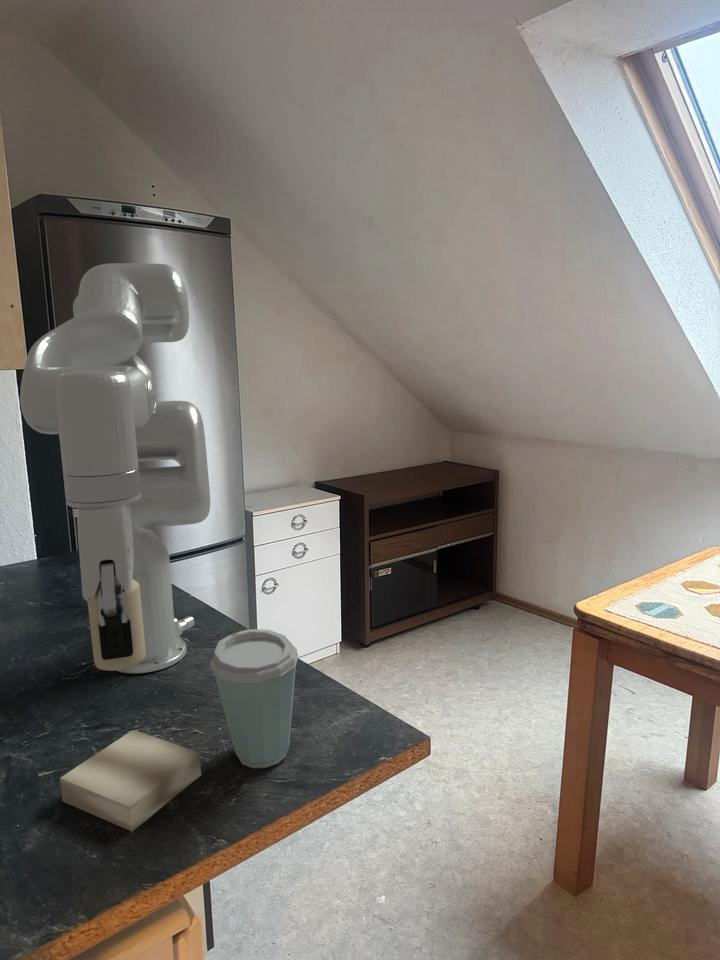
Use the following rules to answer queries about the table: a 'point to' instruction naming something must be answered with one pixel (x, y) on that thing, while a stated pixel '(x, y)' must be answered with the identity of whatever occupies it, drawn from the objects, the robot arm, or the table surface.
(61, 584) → the table surface
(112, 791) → the plinth
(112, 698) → the table surface
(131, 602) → the candle
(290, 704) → the disposable coffee cup
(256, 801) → the table surface
